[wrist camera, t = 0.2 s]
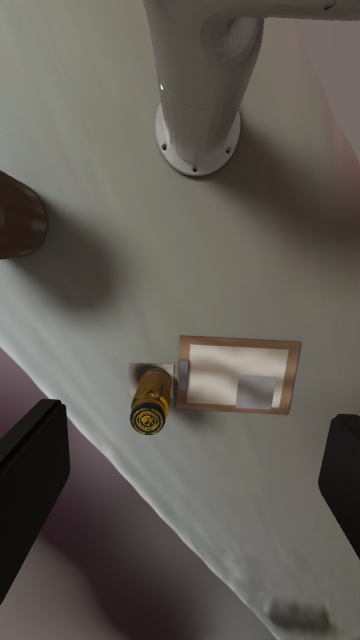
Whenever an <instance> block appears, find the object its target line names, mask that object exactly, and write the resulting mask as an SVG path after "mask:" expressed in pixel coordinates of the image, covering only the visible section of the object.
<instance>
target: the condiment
mask: <svg viewBox="0 0 360 640" xmlns="http://www.w3.org/2000/svg"><path fill="white" fill-rule="evenodd" d="M145 369H146V370H145ZM129 376H130V397H133V398H134V399H133V402H132V405H131V411H132V412H131V414H130V422H131V425H132V427H133V428H134V429H135V430H136V431H137V432H139V433H141V434H144V435H153V434H155V433H158V432H159V431H160V430H161V429H162V428H163V426H164V424H165V419H166V417H167V415H168V412H169V403H170V398H172V399H173V378H174V364H141V363H137V364H133V363H129Z"/></svg>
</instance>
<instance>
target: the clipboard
mask: <svg viewBox="0 0 360 640" xmlns="http://www.w3.org/2000/svg"><path fill="white" fill-rule="evenodd" d="M300 345H301V342H296V341H277V340H258V339H239V338H220V337H201V336H182V335H180V343H179V362H178V381H177V401H176V409H193V410H211V411H230V412H248V413H267V414H285V415H288V412H289V406H290V400H291V395H292V389H293V384H294V378H295V373H296V367H297V361H298V356H299V350H300Z"/></svg>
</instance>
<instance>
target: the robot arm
mask: <svg viewBox="0 0 360 640" xmlns="http://www.w3.org/2000/svg"><path fill="white" fill-rule="evenodd" d="M143 3H144V7H145V10H146V15H147V19H148V24H149V29H150V34H151V40H152V46H153V53H154V60H155V66H156V73H157V79H158V86H159V92H160V99H161V102H160V104H159V106H158V110H157V113H156V119H155V135H156V140H157V144H158V147H159V150H160V152H161V154H162V156H163V158H164V159H165V160H166V162H167V163H168V164H169V165H170V166H171V167H172V168H173V169H175V170H176V171H178V172H180V173H181V174H184V175H188V176H194V177H199V176H205V175H208V174H212V173H213V172H215V171H217V170H219V169H220V168H221V167H222V166H223V165H225V163H226V162H227V161H228V160H229V159H230V157H231V155H232V154H233V152H234V150H235V148H236V145H237V143H238V139H239V135H240V127H241V122H240V113H239V107H240V105H241V102H242V99H243V96H244V94H245V91H246V88H247V86H248V83H249V80H250V77H251V75H252V72H253V69H254V67H255V64H256V61H257V58H258V55H259V52H260V48H261V43H262V37H263V29H264V18H268V17H276V18H295V19H312V20H330V21H334V20H340V21H359V20H360V0H143ZM164 148H166V150H163V149H164ZM226 151H229V153H226ZM194 169H196V170H197V171H196V172H194V171H193V170H194ZM69 473H70V457H69V443H68V428H67V414H66V406H65V405H64V404H62V403H61V401H60V400H57V399H41V400H40V401H39V402H38V403H37V404H36V405H35V406H34V407H33V408H32V409H31V410H30V411H29V412H28V413H27V414H26V415H25V416H24V417H23V418H22V419H21V420H19V421H18V423H16V424H15V425H14V426H13V427H12V428H11V429H10V430H9V431H8V432H7V433H6V434H5V435H4V436H3V437H2V438H1V439H0V605H1V603H2V602H3V600H4V598H5V596H6V594H7V593H8V590H9V589H10V587H11V585H12V583H13V581H14V579H15V577H16V576H17V574H18V572H19V570H20V568H21V566H22V564H23V562H24V560H25V559H26V557H27V555H28V553H29V551H30V549H31V547H32V545H33V544H34V542H35V540H36V538H37V536H38V534H39V532H40V530H41V528H42V527H43V524H44V523H45V521H46V519H47V517H48V515H49V513H50V511H51V510H52V508H53V506H54V504H55V502H56V500H57V498H58V496H59V495H60V493H61V491H62V489H63V487H64V485H65V483H66V481H67V479H68V477H69ZM318 485H319V489H320V492H321V494H322V496H323V498H324V499H325V501H326V503H327V504H328V506H329V508H330V509H331V511H332V513H333V515H334V516H335V518H336V520H337V521H338V523H339V525H340V527H341V528H342V530H343V532H344V533H345V535H346V537H347V539H348V540H349V542H350V544H351V545H352V547H353V549H354V551H355V552H356V554H357V556H358V557H359V559H360V416H358V415H353V414H338V415H337V416H336V418H333V419H332V420H331V424H330V429H329V433H328V438H327V442H326V447H325V452H324V456H323V461H322V466H321V470H320V475H319V480H318Z"/></svg>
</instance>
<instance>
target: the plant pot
mask: <svg viewBox="0 0 360 640" xmlns="http://www.w3.org/2000/svg"><path fill="white" fill-rule="evenodd" d="M46 230H47V218H46V213H45V210H44V207H43V205H42V203H41V201H40V200H39V199H38V197H37V196H36V195H35V193H34V192H33V191H32V190H31V189H30V188H29V187H28V186H26V185H25V184H23V183H22V182H20V181H18V180H16V179H14V178H13V177H11V176H9V175H8V174H6V173H4V172H2V171H1V170H0V259H7V258H14V257H23V256H26V255H29V254H31V253H32V252H33V251H34V250H36V249H37V248H38V247H39V246H40V245H41V244H42V242H43V240H44V238H45V235H46Z"/></svg>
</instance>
